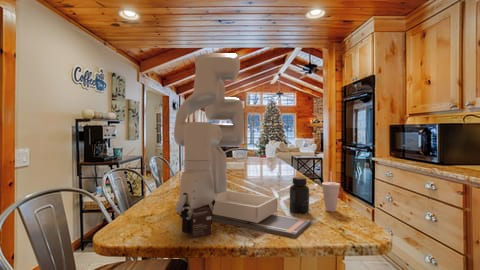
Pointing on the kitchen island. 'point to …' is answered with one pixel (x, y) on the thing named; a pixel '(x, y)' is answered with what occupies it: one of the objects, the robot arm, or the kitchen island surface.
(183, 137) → the robot arm
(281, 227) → the rail board
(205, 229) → the box
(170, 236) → the kitchen island surface
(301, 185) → the supplement bottle
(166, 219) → the kitchen island surface
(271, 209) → the white tray
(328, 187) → the smoothie
